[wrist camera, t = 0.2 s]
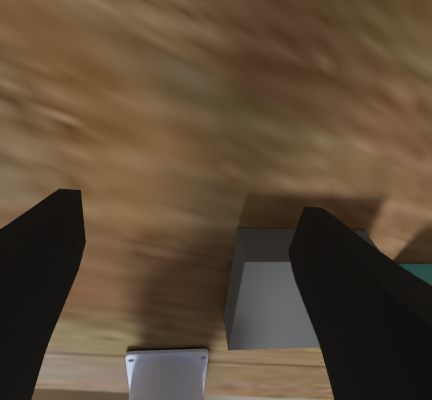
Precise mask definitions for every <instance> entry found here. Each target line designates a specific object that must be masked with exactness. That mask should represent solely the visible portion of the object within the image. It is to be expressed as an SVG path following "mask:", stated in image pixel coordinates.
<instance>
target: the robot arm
mask: <svg viewBox="0 0 432 400" xmlns="http://www.w3.org/2000/svg"><path fill="white" fill-rule="evenodd" d="M85 243H86V239H85V229H84V219H83V209H82V198H81V190H70V189H58V190H57V191H55V192H54V193H52V194H51V195H49V196H48V197H47V198H45V199H44V200H42V201H41V202H40V203H38V204H37V205H35V206H34V207H32V208H31V209H30V210H28V211H27V212H25V213H24V214H22V215H21V216H19V217H18V218H17V219H15V220H14V221H12V222H11V223H9V224H8V225H6V226H5V227H3V228H1V229H0V400H31V399H32V395H33V392H34V388H35V385H36V381H37V378H38V375H39V371H40V368H41V365H42V361H43V358H44V355H45V352H46V349H47V346H48V343H49V341H50V338H51V335H52V333H53V330H54V328H55V326H56V323H57V321H58V318H59V316H60V313H61V311H62V309H63V306H64V304H65V301H66V299H67V297H68V294H69V292H70V289H71V287H72V284H73V282H74V280H75V277H76V275H77V272H78V269H79V266H80V262H81V258H82V255H83V251H84V247H85ZM288 253H289V258H290V263H291V267H292V272H293V276H294V279H295V282H296V285H297V287H298V290H299V293H300V295H301V298H302V300H303V303H304V306H305V308H306V311H307V313H308V316H309V318H310V321H311V324H312V326H313V329H314V331H315V334H316V336H317V339H318V342H319V345H320V348H321V351H322V354H323V358H324V362H325V365H326V369H327V373H328V376H329V380H330V384H331V388H332V392H333V396H334V400H432V285H430V284H428V283H427V282H425V281H423V280H422V279H420V278H419V277H417V276H415V275H414V274H412V273H411V272H409V271H408V270H406V269H405V268H403V267H402V266H400V265H399V264H397V263H396V262H394V261H393V260H391V259H390V258H389V257H387V256H386V255H384V254H383V253H382V252H380V251H379V250H377V249H376V248H375V247H373V246H372V245H371V244H369V243H368V242H367V241H365V240H364V239H363V238H361V237H360V236H359V235H358V234H356V233H355V232H354V231H352V230H351V229H350V228H349V227H347V226H346V225H345V224H343V223H342V222H341V221H339V220H338V219H337V218H335V217H334V216H333V215H331V214H330V213H329V212H327V211H326V210H324V209H322V208H317V207H304V209H303V212H302V214H301V217H300V220H299V223H298V226H297V228H296V231H295V234H294V237H293V240H292V242H291V245H290V248H289V251H288ZM208 356H209V352H208V350H207V349H178V350H148V351H129V352H127V353H126V357H125V358H126V366H127V375H128V383H129V391H130V394H129V400H204V386H205V378H206V371H207V363H208Z"/></svg>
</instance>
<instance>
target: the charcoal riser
mask: <svg viewBox="0 0 432 400" xmlns="http://www.w3.org/2000/svg"><path fill="white" fill-rule="evenodd" d="M295 231H296V229H267V228H237V233H236V239H235V245H234V252H233V258H232V264H231V271H230V277H229V283H228V290H227V296H226V302H225V309H224V321H225V329H226V336H227V344H228V350H251V349H281V348H311V347H320V345H319V342H318V339H317V336H316V334H315V331H314V329H313V326H312V324H311V321H310V318H309V316H308V313H307V311H306V308H305V306H304V303H303V300H302V298H301V295H300V293H299V290H298V287H297V285H296V282H295V279H294V276H293V272H292V267H291V263H290V258H289V253H288V251H289V248H290V245H291V242H292V240H293V237H294V234H295ZM352 231H354V232H355V233H356V234H358V235H359V236H360V237H361V238H363V239H364V240H365V241H367V242H368V243H369V244H371V245H372V246H373V247H375V248H376V249H377V250H378V248H377V247H376V246H375V244H374V243H373V242H372V240H371V239H370V238H369V236H368V235H367V233H366V232H365V231H364V230H352Z"/></svg>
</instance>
